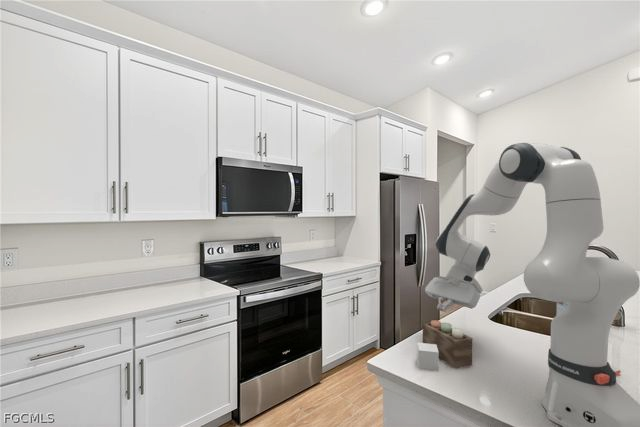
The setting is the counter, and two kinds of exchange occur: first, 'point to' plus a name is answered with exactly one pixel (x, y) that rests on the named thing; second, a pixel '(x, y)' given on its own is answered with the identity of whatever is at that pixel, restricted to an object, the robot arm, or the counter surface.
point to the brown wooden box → (449, 346)
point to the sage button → (446, 327)
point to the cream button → (457, 333)
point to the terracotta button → (435, 323)
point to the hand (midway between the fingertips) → (440, 309)
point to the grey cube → (428, 356)
